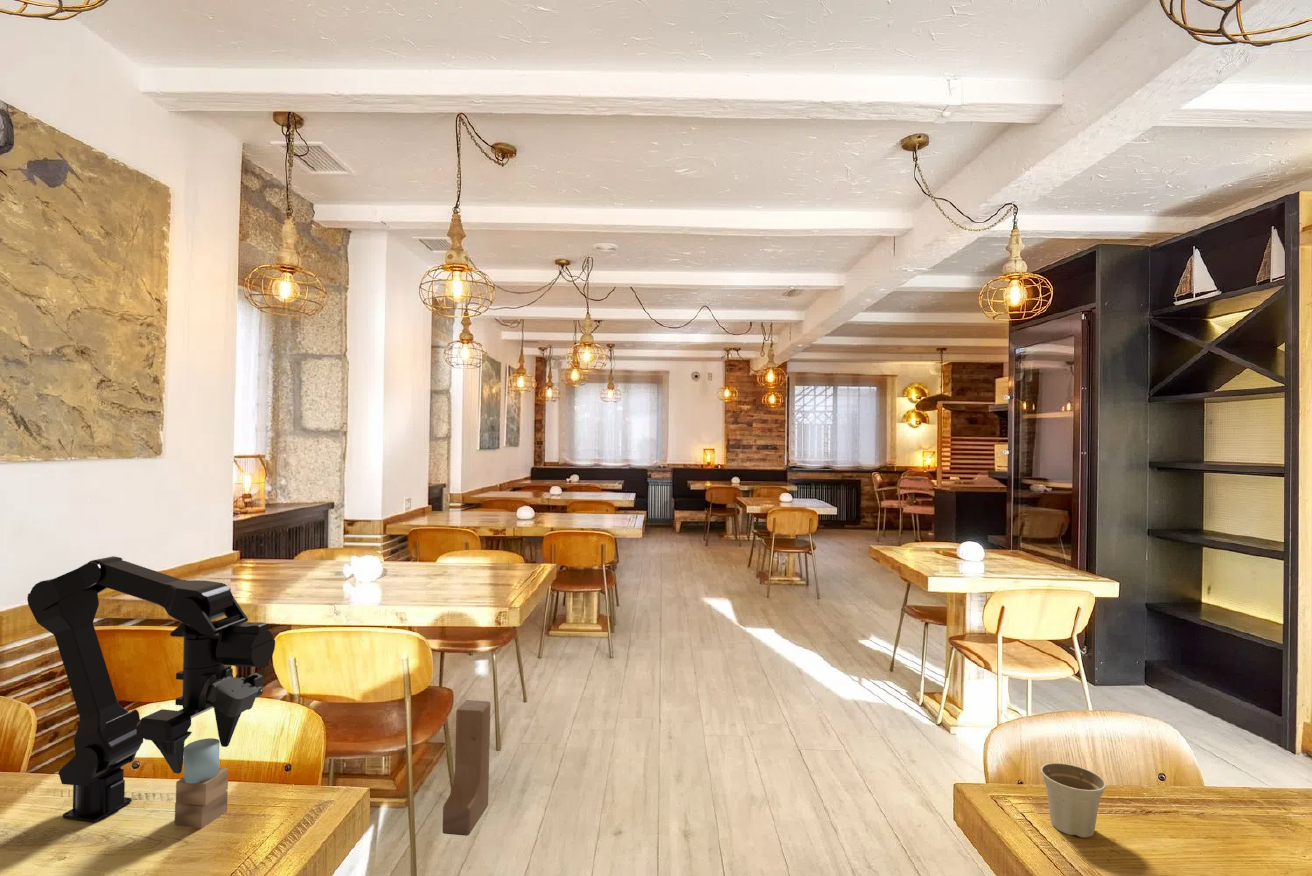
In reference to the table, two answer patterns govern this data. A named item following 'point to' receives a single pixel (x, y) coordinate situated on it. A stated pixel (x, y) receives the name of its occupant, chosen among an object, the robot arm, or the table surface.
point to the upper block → (202, 790)
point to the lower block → (200, 812)
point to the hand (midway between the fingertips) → (202, 758)
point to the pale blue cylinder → (201, 760)
